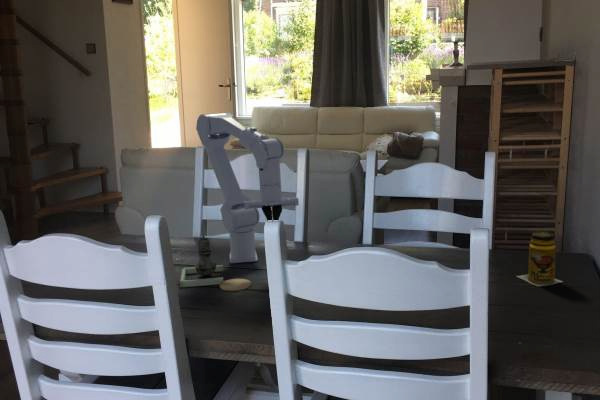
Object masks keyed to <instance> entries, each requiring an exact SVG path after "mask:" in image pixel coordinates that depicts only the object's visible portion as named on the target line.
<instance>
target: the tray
mask: <svg viewBox="0 0 600 400" xmlns="http://www.w3.org/2000/svg"><path fill="white" fill-rule="evenodd" d="M215 272H217V273H218V272H224V264H219V265H217V266H216V269H215ZM215 272H214V273H215ZM190 274H198V273H197V271H196V268H195V266H194V267H193V266H192V267H191V266H190V267H182V270H181V274H180V281H179V285H180V288H186V287H187V288H189V287H200V286H211V285H220V283H222V282H223V281H224V277H223V276H222V277H216V278H209V279H197V278H196V279H188V280H186V276H187V275H190Z"/></svg>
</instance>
